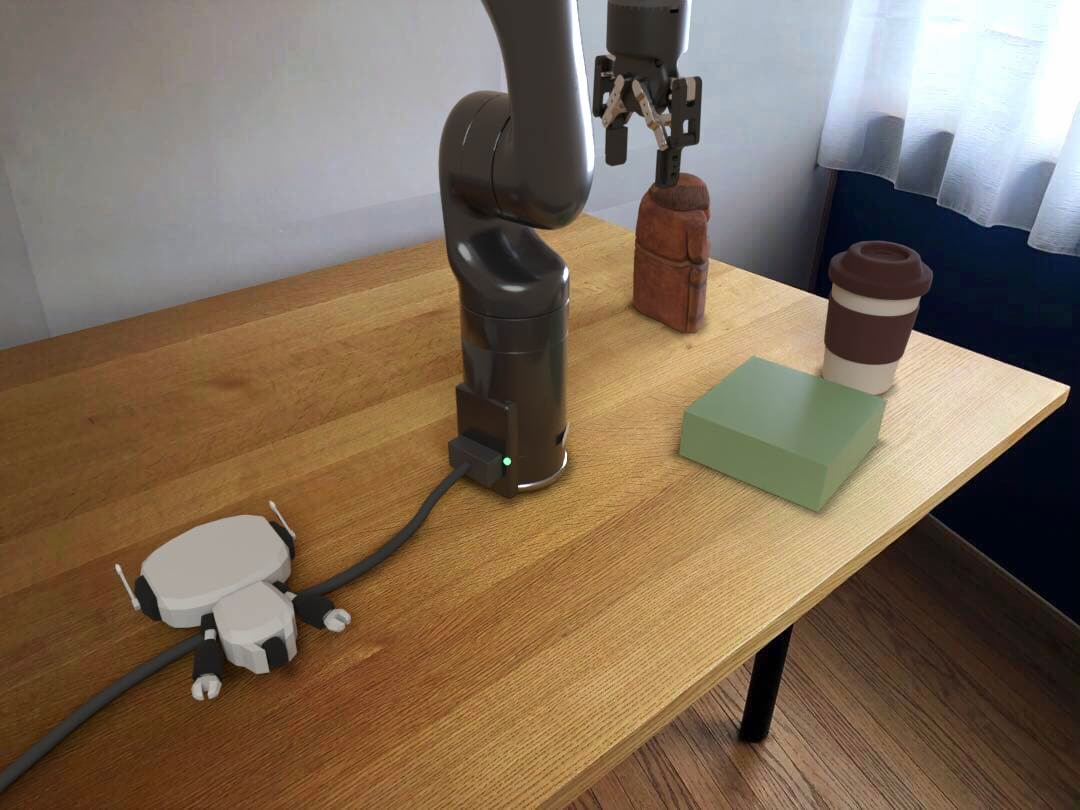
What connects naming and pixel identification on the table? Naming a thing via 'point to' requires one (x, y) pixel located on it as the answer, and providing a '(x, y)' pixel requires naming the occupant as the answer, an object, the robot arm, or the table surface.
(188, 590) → the robot toy
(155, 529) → the table surface
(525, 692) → the table surface
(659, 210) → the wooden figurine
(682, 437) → the green block
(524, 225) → the robot arm
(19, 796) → the table surface
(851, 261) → the coffee cup
